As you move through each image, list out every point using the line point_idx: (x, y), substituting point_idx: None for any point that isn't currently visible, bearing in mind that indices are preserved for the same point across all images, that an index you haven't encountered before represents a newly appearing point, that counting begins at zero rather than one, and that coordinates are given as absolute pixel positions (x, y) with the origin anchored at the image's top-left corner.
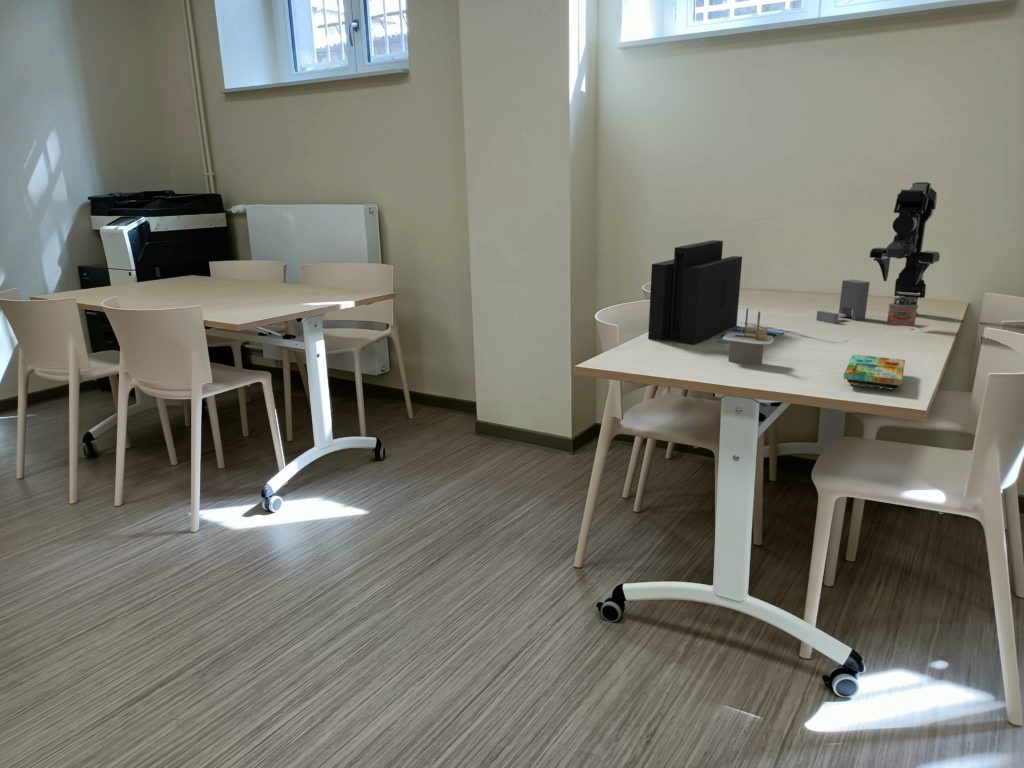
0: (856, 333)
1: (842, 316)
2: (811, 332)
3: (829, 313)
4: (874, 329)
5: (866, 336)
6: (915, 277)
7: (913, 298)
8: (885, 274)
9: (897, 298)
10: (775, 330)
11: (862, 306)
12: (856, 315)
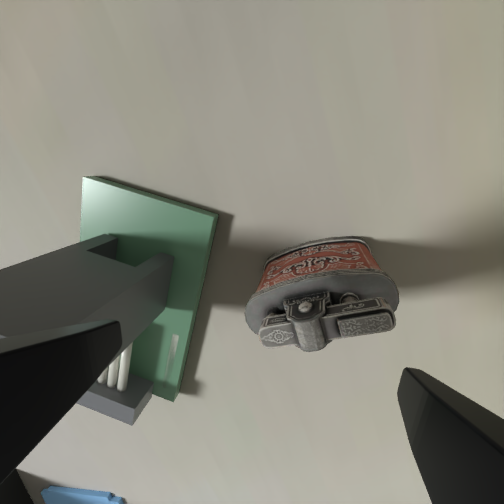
0: (237, 423)
1: (131, 347)
2: (152, 462)
3: (114, 417)
4: (252, 339)
5: (275, 447)
6: (428, 486)
7: (377, 328)
8: (72, 398)
9: (283, 344)
10: (100, 499)
11: (141, 302)
12: (156, 313)
